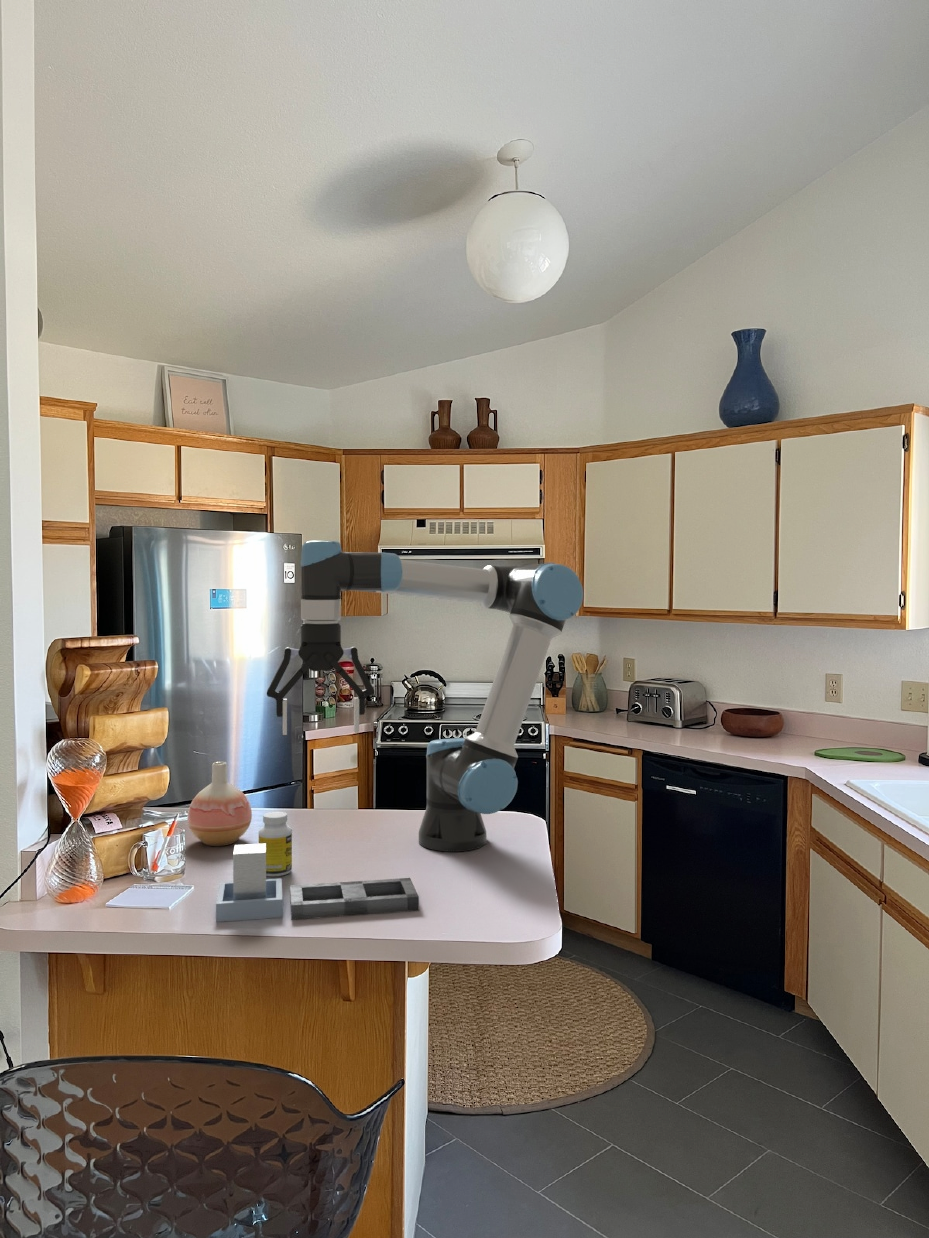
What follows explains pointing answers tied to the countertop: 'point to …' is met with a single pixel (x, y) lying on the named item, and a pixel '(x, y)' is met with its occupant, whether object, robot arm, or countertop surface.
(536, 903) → the countertop surface
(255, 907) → the tray
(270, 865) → the pill bottle
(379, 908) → the grey slotted holder
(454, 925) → the countertop surface
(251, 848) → the white block
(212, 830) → the vase
